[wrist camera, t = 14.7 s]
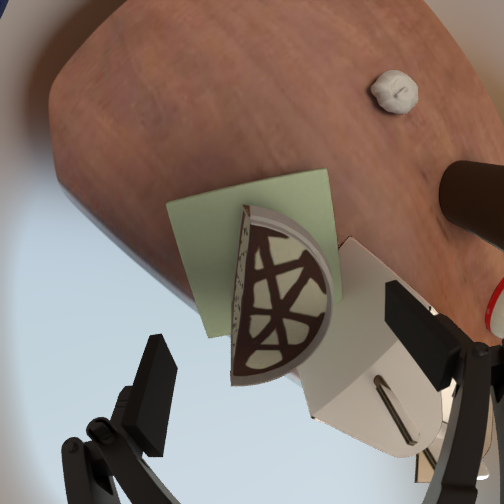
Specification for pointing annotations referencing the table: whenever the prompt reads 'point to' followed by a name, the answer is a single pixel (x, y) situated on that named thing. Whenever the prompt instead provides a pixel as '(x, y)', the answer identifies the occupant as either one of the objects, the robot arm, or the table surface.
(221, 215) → the stand
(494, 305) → the kitchen timer
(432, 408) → the gable box
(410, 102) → the garlic
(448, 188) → the olive oil
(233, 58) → the table surface
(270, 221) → the food container
